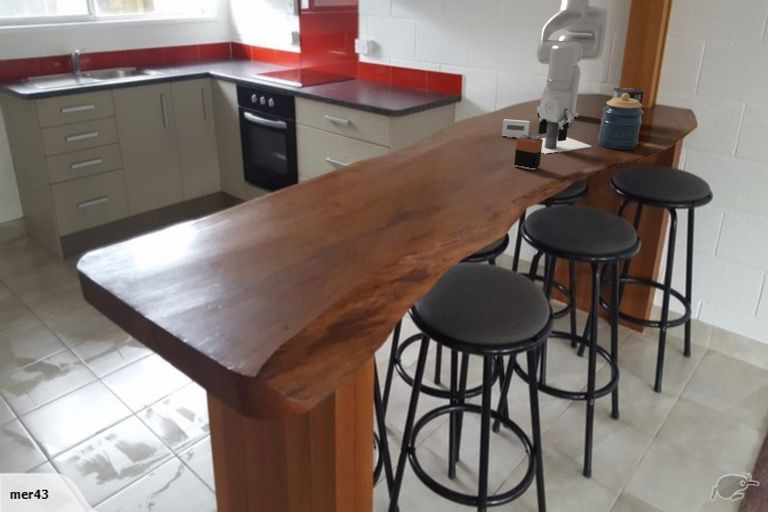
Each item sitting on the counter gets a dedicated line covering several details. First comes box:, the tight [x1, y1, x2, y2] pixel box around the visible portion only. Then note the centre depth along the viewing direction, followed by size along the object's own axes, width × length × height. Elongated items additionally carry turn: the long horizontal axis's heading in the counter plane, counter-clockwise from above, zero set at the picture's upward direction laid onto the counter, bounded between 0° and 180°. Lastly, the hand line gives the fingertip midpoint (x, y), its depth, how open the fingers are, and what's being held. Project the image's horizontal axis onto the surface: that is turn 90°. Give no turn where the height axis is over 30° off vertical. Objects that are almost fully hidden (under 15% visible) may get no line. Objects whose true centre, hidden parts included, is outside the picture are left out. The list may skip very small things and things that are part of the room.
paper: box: [540, 136, 593, 155], centre depth 210 cm, size 15×20×1 cm
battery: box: [513, 135, 543, 168], centre depth 185 cm, size 4×7×10 cm, turn 55°
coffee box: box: [611, 87, 644, 110], centre depth 220 cm, size 9×6×16 cm
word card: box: [501, 118, 530, 139], centre depth 218 cm, size 1×9×6 cm, turn 74°
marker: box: [545, 120, 560, 149], centre depth 204 cm, size 4×4×11 cm
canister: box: [597, 93, 644, 151], centre depth 207 cm, size 13×13×18 cm
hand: (551, 137), depth 204 cm, fingers open, 9 cm apart
